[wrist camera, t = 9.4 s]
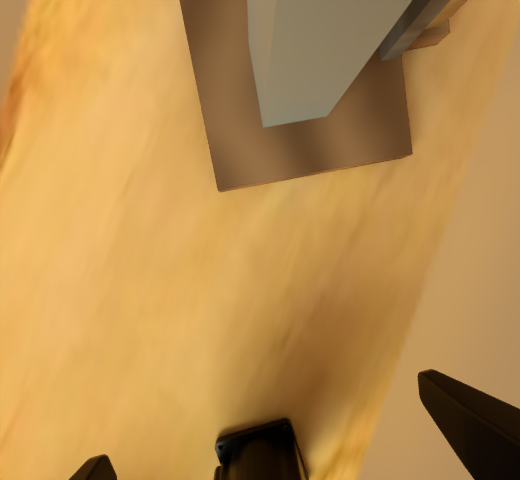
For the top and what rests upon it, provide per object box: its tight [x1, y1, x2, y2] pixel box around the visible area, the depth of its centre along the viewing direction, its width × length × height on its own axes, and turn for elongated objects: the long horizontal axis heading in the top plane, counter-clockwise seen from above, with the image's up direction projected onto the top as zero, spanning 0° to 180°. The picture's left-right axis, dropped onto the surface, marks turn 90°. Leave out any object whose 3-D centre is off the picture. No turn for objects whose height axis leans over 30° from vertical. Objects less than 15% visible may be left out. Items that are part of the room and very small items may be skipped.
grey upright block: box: [247, 0, 412, 128], centre depth 11 cm, size 5×6×11 cm
